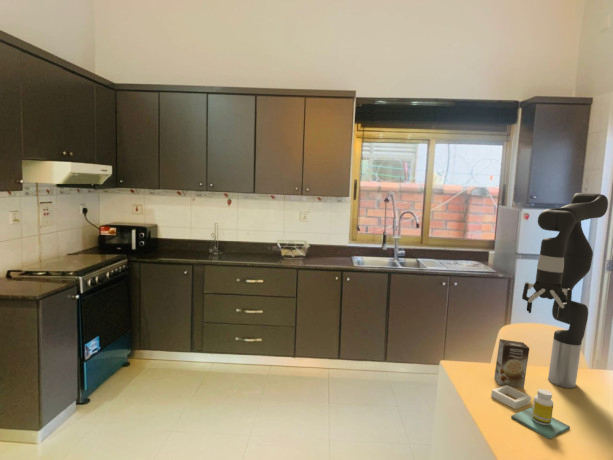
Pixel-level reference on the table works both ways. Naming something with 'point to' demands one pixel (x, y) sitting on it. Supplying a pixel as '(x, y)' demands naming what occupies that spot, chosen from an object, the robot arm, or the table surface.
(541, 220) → the robot arm
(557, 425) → the teal board
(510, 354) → the coffee box
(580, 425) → the table surface
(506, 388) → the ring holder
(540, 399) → the supplement bottle
